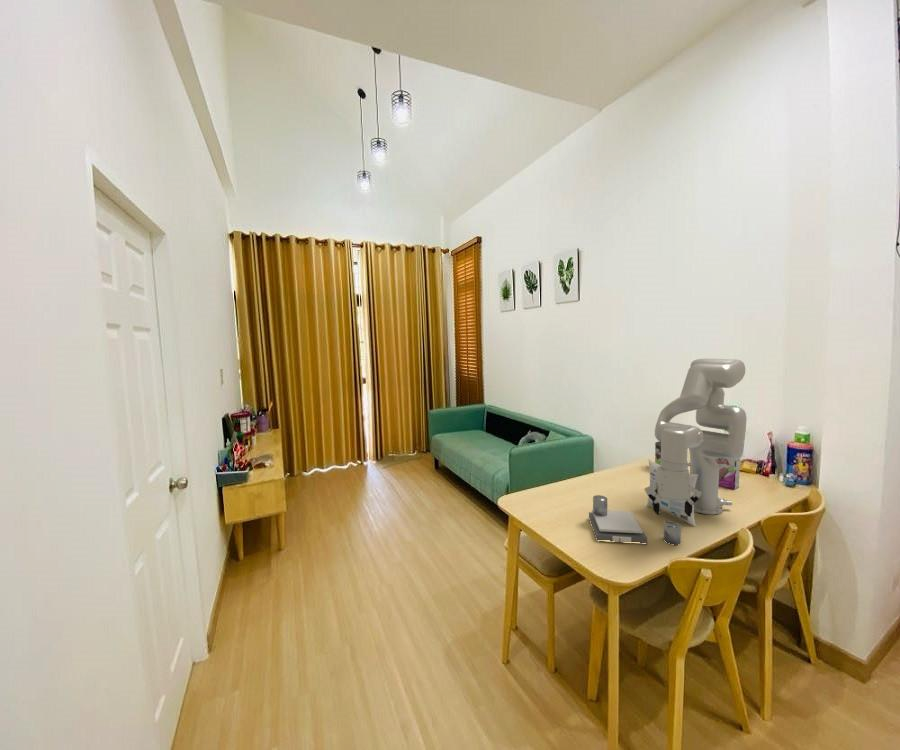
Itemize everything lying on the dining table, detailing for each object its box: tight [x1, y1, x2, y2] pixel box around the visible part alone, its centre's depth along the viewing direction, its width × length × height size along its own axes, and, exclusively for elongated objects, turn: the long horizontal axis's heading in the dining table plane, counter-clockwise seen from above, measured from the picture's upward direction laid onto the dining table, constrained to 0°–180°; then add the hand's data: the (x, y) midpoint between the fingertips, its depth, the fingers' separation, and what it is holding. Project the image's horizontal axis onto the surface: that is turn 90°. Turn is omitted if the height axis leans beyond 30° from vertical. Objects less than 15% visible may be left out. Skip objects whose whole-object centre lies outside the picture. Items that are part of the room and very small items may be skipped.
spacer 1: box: [592, 494, 608, 517], centre depth 139 cm, size 5×5×6 cm
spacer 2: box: [663, 520, 682, 546], centre depth 126 cm, size 5×5×6 cm
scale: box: [588, 509, 648, 544], centre depth 134 cm, size 16×17×4 cm
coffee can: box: [654, 441, 661, 465], centre depth 184 cm, size 10×10×14 cm
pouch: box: [646, 459, 698, 528], centre depth 142 cm, size 8×19×20 cm, turn 24°
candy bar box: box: [714, 457, 741, 491], centre depth 166 cm, size 11×5×16 cm, turn 34°
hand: (671, 513), depth 125 cm, fingers open, 9 cm apart
